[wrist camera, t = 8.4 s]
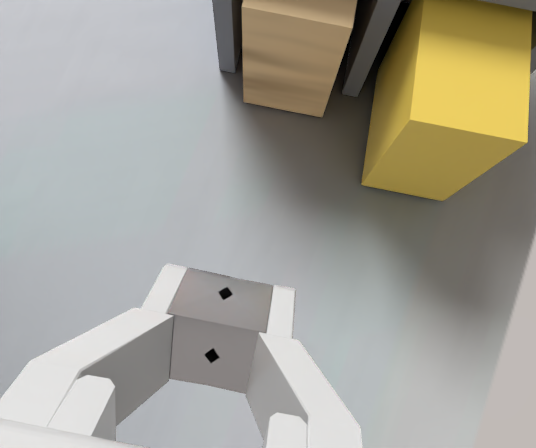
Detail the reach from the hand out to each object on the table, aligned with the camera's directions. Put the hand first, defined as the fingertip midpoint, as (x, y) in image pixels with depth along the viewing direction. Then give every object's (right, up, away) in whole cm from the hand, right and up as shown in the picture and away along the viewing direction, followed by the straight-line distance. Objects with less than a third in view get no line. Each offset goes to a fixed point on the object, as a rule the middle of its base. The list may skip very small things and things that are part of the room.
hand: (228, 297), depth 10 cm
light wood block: (+3, +13, +18) cm, 22 cm away
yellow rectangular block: (+10, +7, +17) cm, 21 cm away
